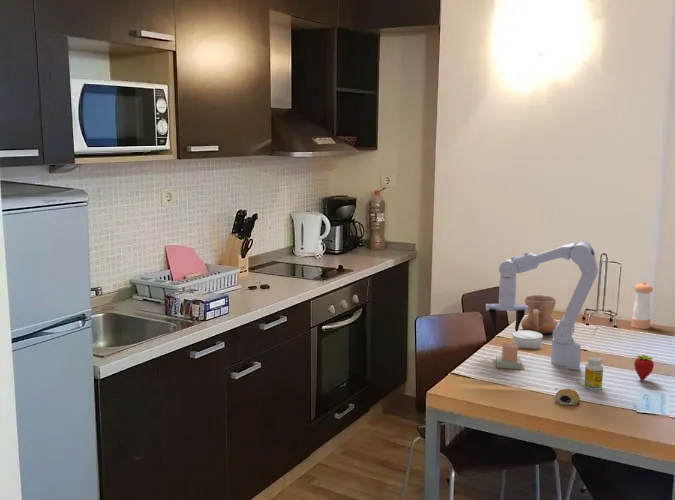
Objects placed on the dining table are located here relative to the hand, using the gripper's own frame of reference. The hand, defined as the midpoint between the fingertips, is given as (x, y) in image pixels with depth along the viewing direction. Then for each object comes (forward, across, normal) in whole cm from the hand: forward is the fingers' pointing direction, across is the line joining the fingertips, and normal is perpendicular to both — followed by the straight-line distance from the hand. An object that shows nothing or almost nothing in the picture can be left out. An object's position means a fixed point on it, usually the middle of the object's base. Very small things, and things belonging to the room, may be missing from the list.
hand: (505, 330), depth 250 cm
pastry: (+11, +14, -39) cm, 43 cm away
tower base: (+11, 0, -11) cm, 16 cm away
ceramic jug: (+11, +18, +36) cm, 42 cm away
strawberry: (+11, +43, -17) cm, 47 cm away
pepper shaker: (+11, +62, +50) cm, 80 cm away
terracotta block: (+7, 0, -11) cm, 13 cm away
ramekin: (+11, +10, +14) cm, 20 cm away
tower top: (+9, 0, -11) cm, 14 cm away
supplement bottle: (+11, +25, -26) cm, 38 cm away
